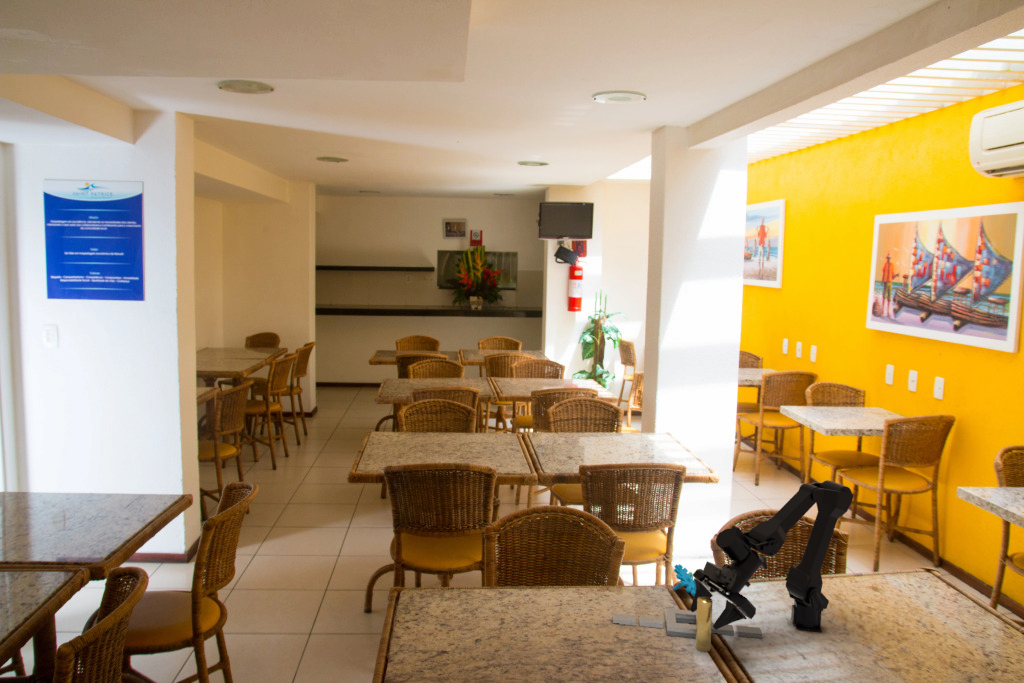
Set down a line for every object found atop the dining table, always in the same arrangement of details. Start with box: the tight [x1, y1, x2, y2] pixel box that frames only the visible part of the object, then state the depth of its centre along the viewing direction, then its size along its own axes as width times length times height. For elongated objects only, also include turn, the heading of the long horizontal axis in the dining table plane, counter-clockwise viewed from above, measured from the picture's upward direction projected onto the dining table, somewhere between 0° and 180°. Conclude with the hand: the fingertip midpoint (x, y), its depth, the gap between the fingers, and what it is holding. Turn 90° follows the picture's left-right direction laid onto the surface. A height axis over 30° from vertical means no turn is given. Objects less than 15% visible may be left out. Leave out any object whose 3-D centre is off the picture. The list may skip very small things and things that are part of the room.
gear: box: [672, 564, 696, 597], centre depth 206 cm, size 11×6×10 cm
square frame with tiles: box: [612, 608, 763, 639], centre depth 184 cm, size 38×10×2 cm, turn 80°
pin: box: [694, 597, 713, 653], centre depth 174 cm, size 4×4×12 cm
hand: (702, 619), depth 174 cm, fingers open, 9 cm apart
